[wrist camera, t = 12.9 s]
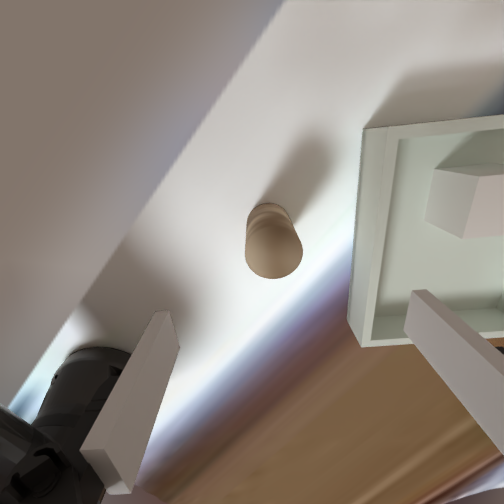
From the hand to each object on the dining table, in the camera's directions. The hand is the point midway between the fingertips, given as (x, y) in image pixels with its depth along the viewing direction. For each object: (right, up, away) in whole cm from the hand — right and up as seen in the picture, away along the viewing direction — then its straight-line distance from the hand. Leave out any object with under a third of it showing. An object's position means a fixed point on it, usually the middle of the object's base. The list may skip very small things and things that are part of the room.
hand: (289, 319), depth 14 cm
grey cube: (+19, +10, +12) cm, 25 cm away
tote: (+20, +6, +15) cm, 26 cm away
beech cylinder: (0, +7, +15) cm, 17 cm away
